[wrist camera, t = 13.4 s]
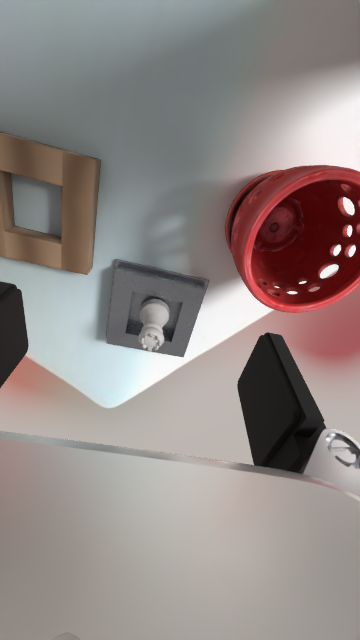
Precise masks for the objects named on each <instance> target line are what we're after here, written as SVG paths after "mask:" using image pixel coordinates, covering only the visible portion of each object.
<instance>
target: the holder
mask: <svg viewBox="0 0 360 640" xmlns="http://www.w3.org/2000/svg"><path fill="white" fill-rule="evenodd" d="M208 283H209V280H206V279H201V278H197V277H193V276H188V275H184V274H179V273H175V272H171V271H166V270H162V269H158V268H153V267H149V266H145V265H140V264H136V263H131V262H127V261H123V260H118V259H116V260H115V267H114V275H113V283H112V291H111V299H110V307H109V315H108V323H107V331H106V338H107V343H108V344H113V345H119V346H124V347H130V348H135V349H141V350H146V351H148V348H145V349H143V348H142V345H141V344H140V342H139V339H138V338H139V334H140V333H141V331H142V328H143V326H144V324H143V323H142V322H141V319H140V316H139V314H140V307H141V305H142V304H143V303H144V302H145V301H147V300H150V299H158V300H161V301H163V302H165V303H166V304H167V306H168V307H169V310H170V314H169V320H168V321H167V323H166V324H165V325H164V326H163V327H162V330H163V336H164V343H163V344H162V345H161V346H160V347H159V348H158V350H156V351H155V350H154V349H152V352H157V353H163V354H168V355H174V356H179V357H184V354H185V352H186V349H187V346H188V343H189V340H190V337H191V334H192V331H193V328H194V325H195V322H196V319H197V316H198V313H199V310H200V307H201V304H202V301H203V298H204V295H205V292H206V289H207V286H208Z"/></svg>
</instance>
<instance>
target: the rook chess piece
mask: <svg viewBox="0 0 360 640" xmlns="http://www.w3.org/2000/svg"><path fill="white" fill-rule="evenodd" d="M169 314H170V310H169V307H168V306H167V304H166V303H165V302H163V301H161V300H158V299H150V300H147V301H145V302H144V303H143V304H142V305H141V307H140V314H139V316H140V319H141V322H142V323H143V324H144V326H143V328H142V331H141V333H140V334H139V338H138V339H139V342H140V344H141V345H142V348H143V349H145V348H148V351H152V349H154V350H155V351H156V350H158V348H159V347H160V346H161V345H162V344H163V343H164V336H163V330H162V327H163V326H164V325H165V324H166V323H167V321H168V320H169Z"/></svg>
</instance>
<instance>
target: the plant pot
mask: <svg viewBox="0 0 360 640" xmlns="http://www.w3.org/2000/svg"><path fill="white" fill-rule="evenodd" d="M343 197H346V198H348V199H350V200H351V201H352V203H353V205H354V208H355V213H354V215H349V214H348V213H347V212H346V211H345V209H344V206H343ZM349 225H351V226H352V235H351V237H349V236H348V235H347V228H348V226H349ZM225 232H226V240H227V244H228V247H229V249H230V251H231V253H232V254H233V258H234V262H235V265H236V267H237V269H238V272H239V274H240V276H241V278H242V280H243V282H244V283H245V285H246V287H247V288H248V289H249V291H250V292H251V293H252V295H253V296H254V297H255V298H256V299H257V300H258V301H260V302H261V303H262V304H264V305H265V306H267V307H269V308H272V309H275V310H278V311H282V312H292V313H298V312H308V311H312V310H316V309H320V308H323V307H326V306H328V305H330V304H333V303H335V302H336V301H338V300H340V299H341V298H343V297H344V296H346V295H347V294H348V293H350V292H351V291H353V290H354V289H355V288H356V287H357V286H358V285H359V284H360V172H359V171H356V170H353V169H350V168H344V167H338V166H328V165H315V166H300V167H294V168H290V169H286V170H277V171H272V172H268V173H265V174H263V175H261V176H259V177H257V178H255V179H254V180H252V181H251V182H250V183H248V184H247V185H246V186H245V187H244V188H243V189H242V190H241V191H240V192H239V194H238V195H237V196H236V198H235V199H234V201H233V203H232V205H231V207H230V209H229V212H228V215H227V219H226V227H225ZM339 244H340V245H341V251H340V253H339V254H338V255H337V256H334V255H333V251H334V248H335V247H336V246H337V245H339ZM353 245H355V246H356V251H355V253H354V255H353V256H352V257H349V255H348V252H349V249H350V248H351V247H352V246H353ZM333 264H337V265H338V266H339V269H338V271H337V273H336V274H335V275H333V276H332V277H329V278H324V279H321V278H320V273H321V272H322V271H323V270H324V269H325V268H326V267H328V266H330V265H333ZM302 281H307V282H306V283H304V284H299V282H302ZM274 286H277V287H280V288H275V287H274ZM313 287H320V289H319V290H317V291H314V292H309V289H311V288H313ZM289 291H296V292H298V293H297V294H293V295H292V294H288V293H287V292H289ZM271 294H272V295H271Z"/></svg>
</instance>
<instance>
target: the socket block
mask: <svg viewBox="0 0 360 640" xmlns="http://www.w3.org/2000/svg"><path fill="white" fill-rule="evenodd" d="M100 163H101V160H100V159H96V158H92V157H89V156H85V155H82V154H78V153H75V152H71V151H67V150H64V149H60V148H57V147H53V146H50V145H46V144H42V143H39V142H35V141H32V140H28V139H25V138H21V137H17V136H14V135H10V134H7V133H3V132H0V256H2V257H7V258H11V259H16V260H21V261H25V262H30V263H35V264H39V265H44V266H48V267H53V268H58V269H62V270H67V271H71V272H76V273H81V274H85V275H87V274H88V273H89V272H90V270H91V269H92V265H93V252H94V239H95V227H96V214H97V201H98V189H99V176H100ZM11 173H14V174H18V175H21V176H25V177H29V178H33V179H37V180H41V181H44V182H48V183H52V184H56V185H60V186H62V232H61V237H59V236H55V235H51V234H46V233H42V232H38V231H33V230H29V229H25V228H21V227H16V226H15V223H14V211H13V198H12V185H11Z"/></svg>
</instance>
